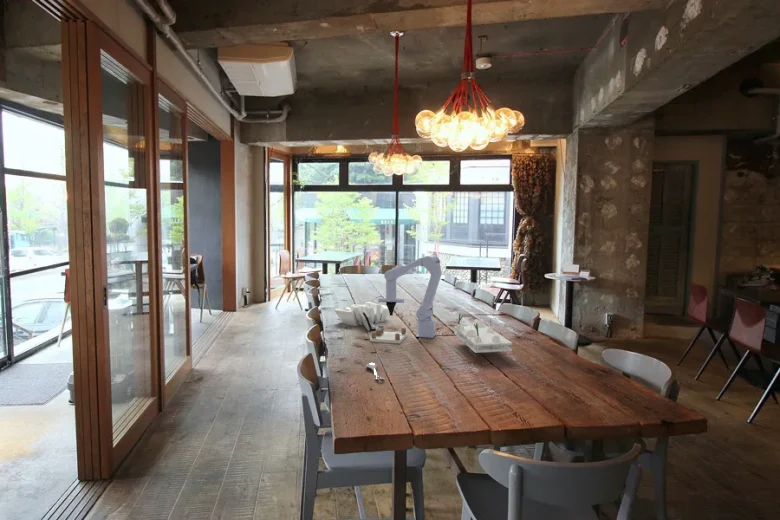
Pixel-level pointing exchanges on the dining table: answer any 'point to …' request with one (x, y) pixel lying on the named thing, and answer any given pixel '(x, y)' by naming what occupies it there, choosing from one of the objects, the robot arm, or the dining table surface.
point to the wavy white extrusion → (353, 313)
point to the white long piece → (373, 366)
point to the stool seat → (389, 336)
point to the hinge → (367, 321)
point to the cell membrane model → (481, 337)
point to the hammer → (380, 330)
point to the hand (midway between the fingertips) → (391, 315)
